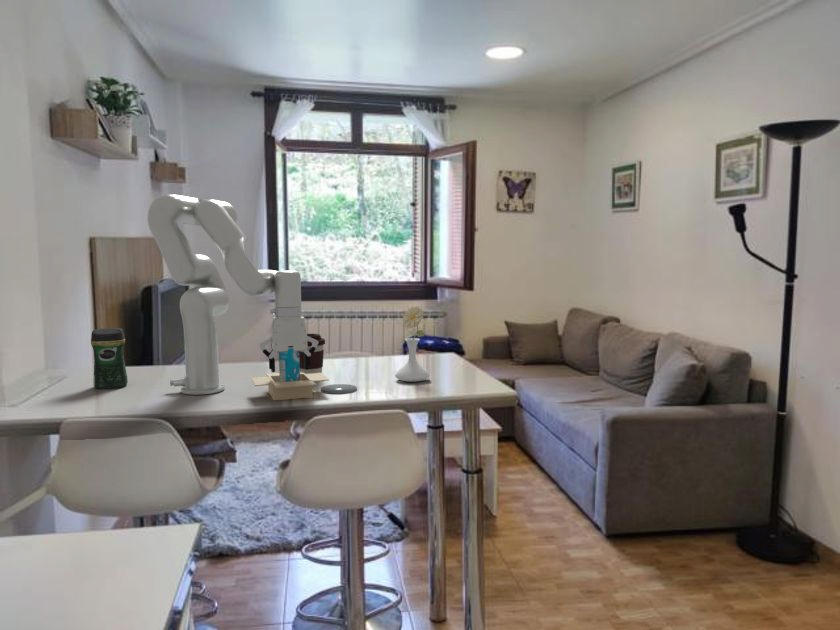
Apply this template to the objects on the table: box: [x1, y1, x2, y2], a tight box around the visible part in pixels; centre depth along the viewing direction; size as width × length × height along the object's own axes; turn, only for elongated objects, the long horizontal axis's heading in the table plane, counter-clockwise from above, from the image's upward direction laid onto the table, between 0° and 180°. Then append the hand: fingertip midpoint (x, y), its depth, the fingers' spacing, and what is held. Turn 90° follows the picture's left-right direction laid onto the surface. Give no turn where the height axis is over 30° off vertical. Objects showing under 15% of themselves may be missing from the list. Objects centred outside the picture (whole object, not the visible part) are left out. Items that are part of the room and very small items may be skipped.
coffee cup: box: [299, 333, 326, 374], centre depth 203 cm, size 10×10×15 cm
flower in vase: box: [394, 305, 430, 383], centre depth 200 cm, size 13×11×25 cm
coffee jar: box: [90, 327, 128, 390], centre depth 193 cm, size 10×8×19 cm
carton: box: [250, 371, 330, 401], centre depth 182 cm, size 21×21×5 cm
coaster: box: [320, 383, 358, 395], centre depth 188 cm, size 11×11×1 cm
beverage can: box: [278, 346, 300, 382], centre depth 181 cm, size 6×6×15 cm
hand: (289, 370), depth 181 cm, fingers open, 9 cm apart
